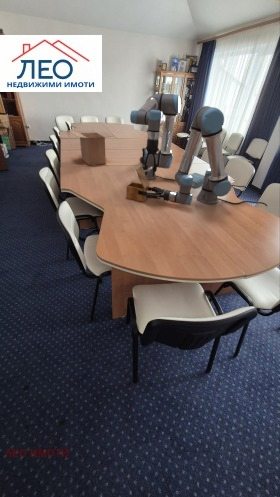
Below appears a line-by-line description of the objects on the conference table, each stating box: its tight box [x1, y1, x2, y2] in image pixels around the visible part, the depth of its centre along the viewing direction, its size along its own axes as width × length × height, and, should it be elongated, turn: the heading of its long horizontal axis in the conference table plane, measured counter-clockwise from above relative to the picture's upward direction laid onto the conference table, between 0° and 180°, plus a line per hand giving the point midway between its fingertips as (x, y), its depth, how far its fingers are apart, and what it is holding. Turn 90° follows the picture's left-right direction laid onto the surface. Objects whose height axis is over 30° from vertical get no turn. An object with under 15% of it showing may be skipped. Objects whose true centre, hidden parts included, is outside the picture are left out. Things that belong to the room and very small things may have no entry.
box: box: [70, 129, 114, 166], centre depth 229 cm, size 44×36×27 cm
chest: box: [126, 181, 150, 203], centre depth 164 cm, size 14×10×9 cm
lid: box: [135, 165, 153, 189], centre depth 155 cm, size 14×10×9 cm
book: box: [188, 172, 205, 189], centre depth 200 cm, size 23×16×5 cm
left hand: (149, 175), depth 154 cm, fingers open, 5 cm apart
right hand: (140, 189), depth 163 cm, fingers closed on chest, 10 cm apart
